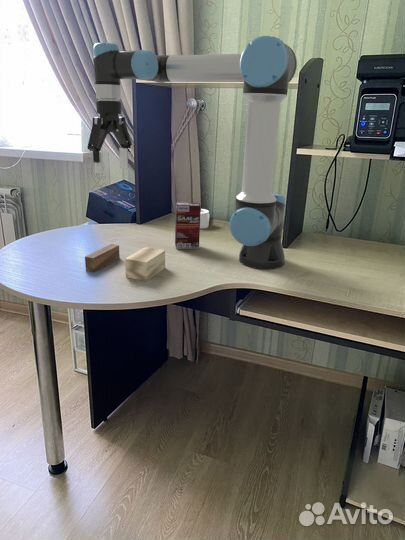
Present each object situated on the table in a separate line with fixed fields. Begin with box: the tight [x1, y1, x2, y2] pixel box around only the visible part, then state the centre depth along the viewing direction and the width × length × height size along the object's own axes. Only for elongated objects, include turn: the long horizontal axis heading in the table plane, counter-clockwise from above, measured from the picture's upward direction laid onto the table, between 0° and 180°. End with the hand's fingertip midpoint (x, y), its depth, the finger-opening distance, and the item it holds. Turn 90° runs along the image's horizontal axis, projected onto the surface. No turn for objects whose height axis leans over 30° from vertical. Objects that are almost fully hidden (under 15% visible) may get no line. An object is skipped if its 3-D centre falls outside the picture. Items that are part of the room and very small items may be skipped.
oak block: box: [124, 246, 166, 282], centre depth 127 cm, size 7×12×6 cm, turn 158°
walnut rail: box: [84, 243, 120, 273], centre depth 132 cm, size 3×14×4 cm, turn 158°
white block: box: [200, 208, 210, 229], centre depth 183 cm, size 20×9×7 cm, turn 178°
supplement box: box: [174, 202, 202, 250], centre depth 149 cm, size 9×5×16 cm, turn 97°
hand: (112, 170), depth 136 cm, fingers open, 13 cm apart
